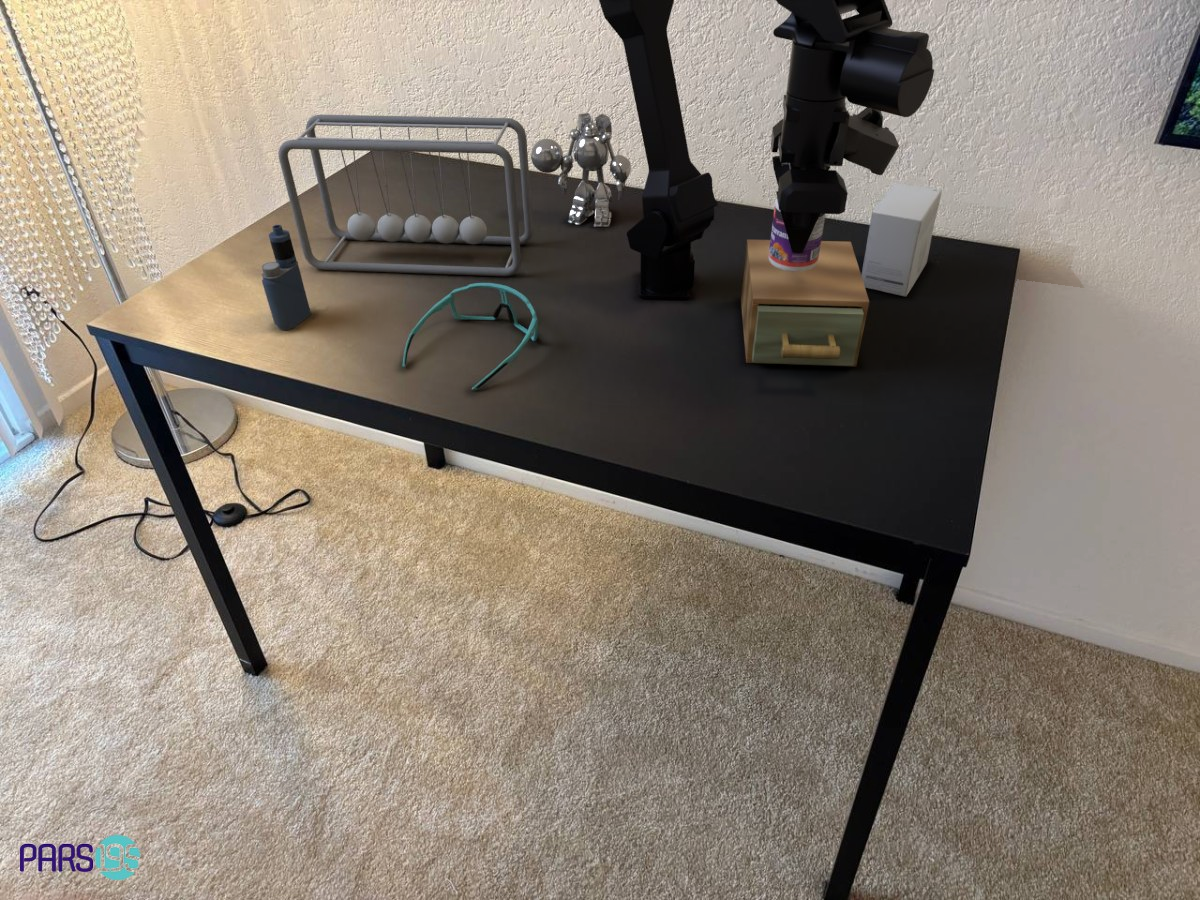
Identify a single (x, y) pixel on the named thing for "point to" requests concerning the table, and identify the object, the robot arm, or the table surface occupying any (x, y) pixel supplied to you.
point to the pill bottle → (782, 250)
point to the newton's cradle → (415, 225)
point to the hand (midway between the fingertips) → (795, 241)
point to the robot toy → (585, 167)
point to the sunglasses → (511, 315)
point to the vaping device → (284, 283)
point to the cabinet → (800, 285)
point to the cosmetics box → (900, 238)
